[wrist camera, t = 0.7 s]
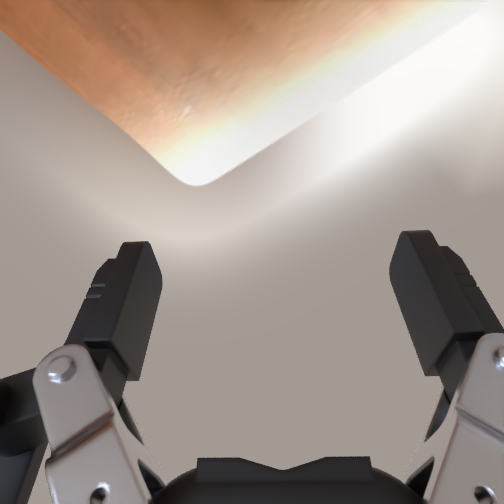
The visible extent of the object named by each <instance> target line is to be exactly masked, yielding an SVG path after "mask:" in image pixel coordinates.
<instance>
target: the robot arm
mask: <svg viewBox="0 0 504 504" xmlns="http://www.w3.org/2000/svg"><path fill="white" fill-rule="evenodd" d="M389 275H390V281H391V284H392V287H393V290H394V293H395V295H396V298H397V301H398V303H399V306H400V309H401V312H402V314H403V317H404V320H405V322H406V325H407V328H408V331H409V333H410V336H411V339H412V342H413V345H414V347H415V350H416V353H417V355H418V358H419V361H420V364H421V366H422V369H423V372H424V375H425V376H440V379H441V381H442V384H443V386H442V388H441V390H440V392H439V395H438V397H437V400H436V403H435V405H434V408H433V410H432V413H431V415H430V418H429V420H428V423H427V425H426V428H425V430H424V433H423V436H422V438H421V441H420V443H419V445H418V447H417V449H416V451H415V453H414V454H413V456H412V458H411V460H410V462H409V464H408V466H407V468H406V470H405V473H404V475H403V478H402V480H401V481H400V480H399V479H397V478H395V477H393V476H392V475H390V474H388V473H386V472H384V471H382V470H379V469H377V468H373V467H372V466H371V461H370V457H369V456H368V457H367V456H366V457H365V456H364V457H324V458H321V459H319V460H315V461H312V462H309V463H306V464H303V465H300V466H297V467H293V468H290V469H287V470H279V469H275V468H272V467H269V466H265V465H262V464H259V463H255V462H252V461H249V460H245V459H242V458H198V459H197V468H195V469H192V470H190V471H188V472H186V473H183V474H181V475H180V476H178V477H177V478H175V479H174V480H172V481H171V482H170V483H168V482H167V480H166V478H165V476H164V474H163V472H162V470H161V468H160V466H159V464H158V462H157V461H156V459H155V457H154V456H153V454H152V453H151V451H150V449H149V447H148V445H147V443H146V441H145V439H144V437H143V435H142V433H141V431H140V428H139V426H138V424H137V422H136V420H135V418H134V416H133V414H132V412H131V409H130V407H129V405H128V403H127V401H126V399H125V397H124V395H123V391H124V387H125V383H126V381H139V378H140V374H141V370H142V366H143V362H144V358H145V354H146V350H147V346H148V342H149V338H150V334H151V330H152V327H153V323H154V319H155V314H156V310H157V306H158V302H159V298H160V294H161V290H162V274H161V271H160V268H159V265H158V263H157V260H156V258H155V255H154V253H153V250H152V247H151V245H150V243H149V242H148V241H141V242H124V243H123V244H122V246H121V247H120V250H119V252H118V255H117V257H116V259H108V260H107V261H106V262H105V263H104V264H103V265H102V266H101V267H100V268H99V270H97V272H96V274H95V277H94V279H93V281H92V283H91V288H89V290H88V292H87V295H86V299H84V301H83V304H82V306H81V309H80V310H79V313H78V315H77V317H76V319H75V321H74V324H73V326H72V328H71V331H70V333H69V335H68V338H67V340H66V341H65V343H64V345H63V346H61V347H59V348H57V349H55V350H53V351H52V352H50V353H49V354H48V355H47V356H46V357H44V358H43V359H42V361H41V362H40V363H39V365H38V366H37V367H36V368H33V369H30V370H27V371H24V372H21V373H18V374H15V375H12V376H9V377H6V378H3V379H0V504H27V503H28V500H29V497H30V495H31V491H32V488H33V486H34V483H35V480H36V477H37V474H38V471H39V468H40V465H41V462H42V459H43V456H44V453H45V450H46V447H47V444H48V443H49V445H50V449H51V457H50V458H48V459H47V460H46V463H45V474H46V479H47V484H48V487H49V491H50V495H51V499H52V503H53V504H504V329H503V327H502V325H501V324H500V322H499V320H498V319H497V317H496V315H495V314H494V312H493V310H492V309H491V307H490V305H489V303H488V302H487V300H486V298H485V297H484V295H483V293H482V292H481V290H480V289H479V287H477V286H476V282H475V280H474V278H473V277H472V275H470V272H469V270H468V268H467V267H466V265H465V263H464V262H463V260H462V258H461V257H460V256H458V255H457V254H456V253H455V252H453V251H452V250H451V249H450V248H449V247H448V246H439V245H438V243H437V242H436V240H435V238H434V236H433V234H432V233H431V232H430V231H429V230H417V231H402V232H401V234H400V236H399V239H398V242H397V245H396V248H395V251H394V254H393V257H392V261H391V263H390V268H389Z"/></svg>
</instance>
